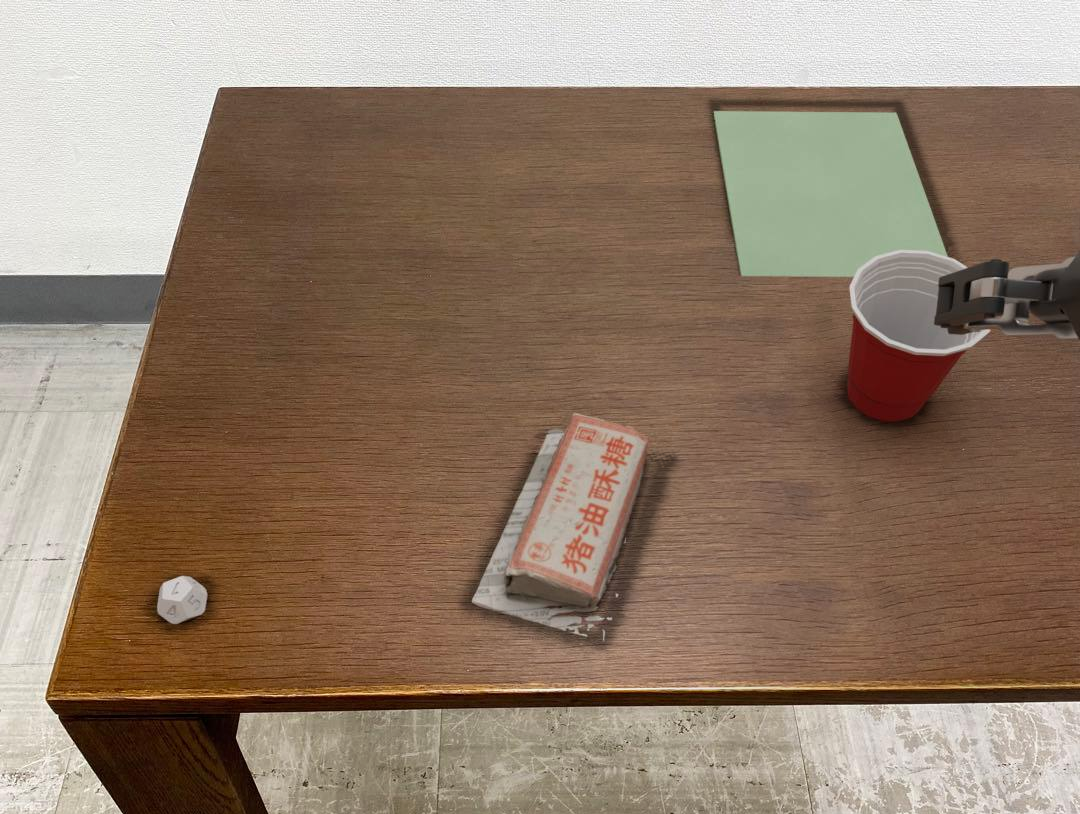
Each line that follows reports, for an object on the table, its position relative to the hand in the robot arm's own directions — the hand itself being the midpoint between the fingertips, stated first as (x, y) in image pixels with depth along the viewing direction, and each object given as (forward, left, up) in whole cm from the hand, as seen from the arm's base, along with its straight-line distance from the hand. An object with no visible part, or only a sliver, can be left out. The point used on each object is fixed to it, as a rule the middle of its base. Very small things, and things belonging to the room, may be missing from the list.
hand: (1029, 321), depth 59 cm
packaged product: (+25, -2, -23) cm, 35 cm away
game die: (+53, +5, -23) cm, 58 cm away
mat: (-1, -44, -23) cm, 49 cm away
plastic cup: (-1, -16, -23) cm, 28 cm away
